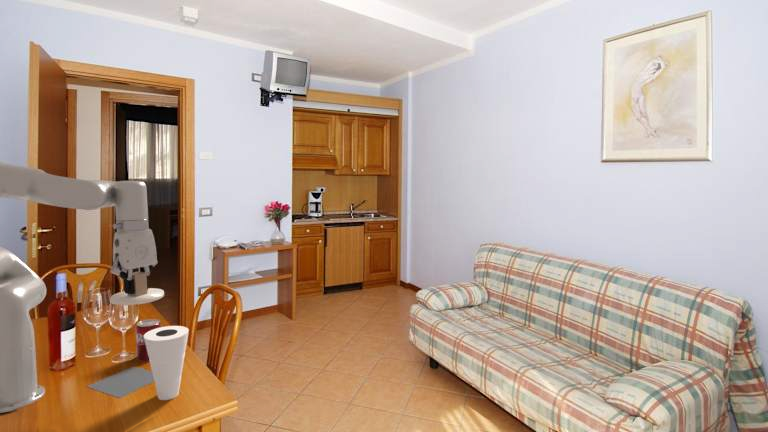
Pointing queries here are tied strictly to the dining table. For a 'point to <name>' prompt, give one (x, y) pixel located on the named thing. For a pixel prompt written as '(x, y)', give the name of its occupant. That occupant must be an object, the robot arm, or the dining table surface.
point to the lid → (138, 292)
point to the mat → (124, 382)
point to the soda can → (141, 329)
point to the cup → (167, 358)
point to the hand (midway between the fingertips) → (136, 290)
